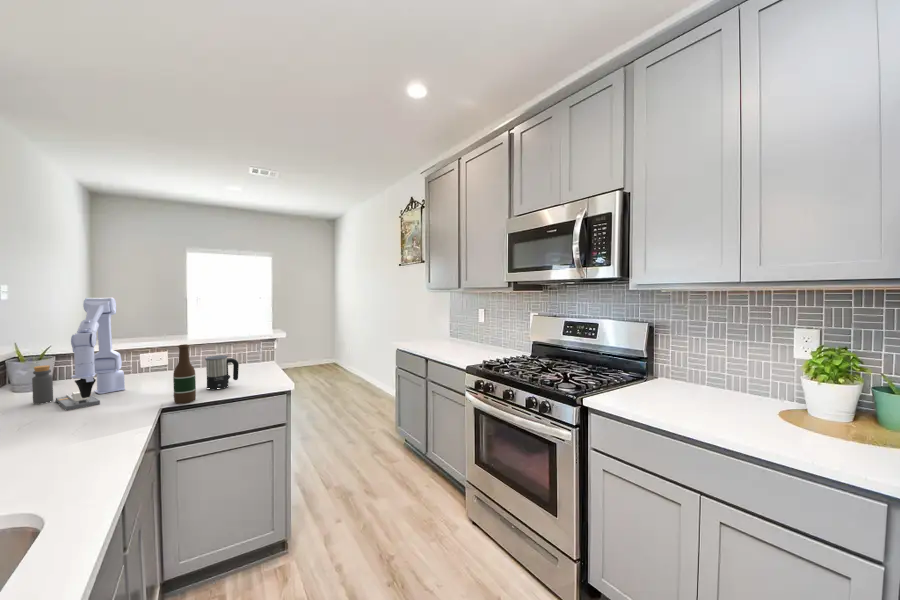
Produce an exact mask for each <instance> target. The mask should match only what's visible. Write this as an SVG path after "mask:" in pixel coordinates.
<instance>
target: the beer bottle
mask: <svg viewBox="0 0 900 600" xmlns="http://www.w3.org/2000/svg"><path fill="white" fill-rule="evenodd" d="M189 348H190V345H189V344H179V345H178V351H179V352H178V362H177V365H176V366H175V368H174V370H173V377H172V378H173V379H172V380H173V401H174V403H175V404H176V405H177V404H179V405H181V404H182V405H183V404H189V403H193V402H194V401H196V399H197V398H196V397H197V394H196V393H197V392H196V391H197V390H196V385H197V383H196V382H197V380H196V370H195V367H194V366H193V365H192V363H191V361H190V360H191V359H190V351H189V350H190V349H189Z"/></svg>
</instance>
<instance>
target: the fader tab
mask: <svg viewBox="0 0 900 600" xmlns="http://www.w3.org/2000/svg"><path fill="white" fill-rule="evenodd" d="M71 393H72V394H71V395H72V398H73V400H74V401H80V402H82V401H83V400H86V399H90V397H87V398H82V397H81V394H80V390H79V391H73V392H71Z"/></svg>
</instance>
